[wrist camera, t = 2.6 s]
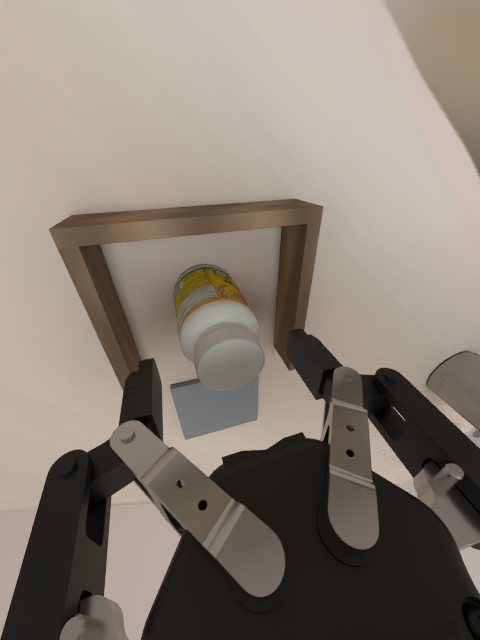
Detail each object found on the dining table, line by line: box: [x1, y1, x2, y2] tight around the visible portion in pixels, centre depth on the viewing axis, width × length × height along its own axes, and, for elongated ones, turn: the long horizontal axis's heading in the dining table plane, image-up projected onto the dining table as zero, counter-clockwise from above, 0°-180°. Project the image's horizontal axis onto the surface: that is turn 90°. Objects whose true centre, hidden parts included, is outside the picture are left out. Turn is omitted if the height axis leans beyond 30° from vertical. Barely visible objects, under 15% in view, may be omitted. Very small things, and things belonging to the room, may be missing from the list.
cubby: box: [49, 199, 323, 391], centre depth 20 cm, size 16×15×4 cm
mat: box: [170, 375, 258, 440], centre depth 29 cm, size 10×10×1 cm
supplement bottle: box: [174, 265, 264, 391], centre depth 17 cm, size 5×5×10 cm
